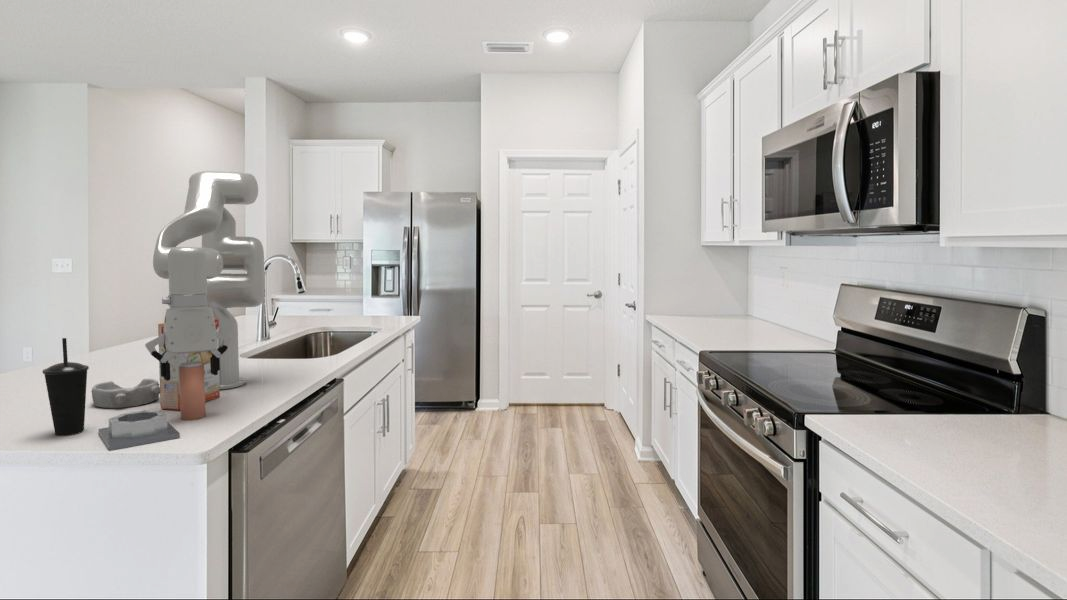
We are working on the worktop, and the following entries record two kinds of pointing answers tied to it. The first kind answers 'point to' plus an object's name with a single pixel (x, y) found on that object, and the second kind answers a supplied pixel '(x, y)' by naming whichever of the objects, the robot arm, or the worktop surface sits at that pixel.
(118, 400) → the dish
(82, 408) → the drinking cup
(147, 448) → the worktop surface
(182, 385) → the cylinder
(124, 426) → the ring block
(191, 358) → the cracker box
